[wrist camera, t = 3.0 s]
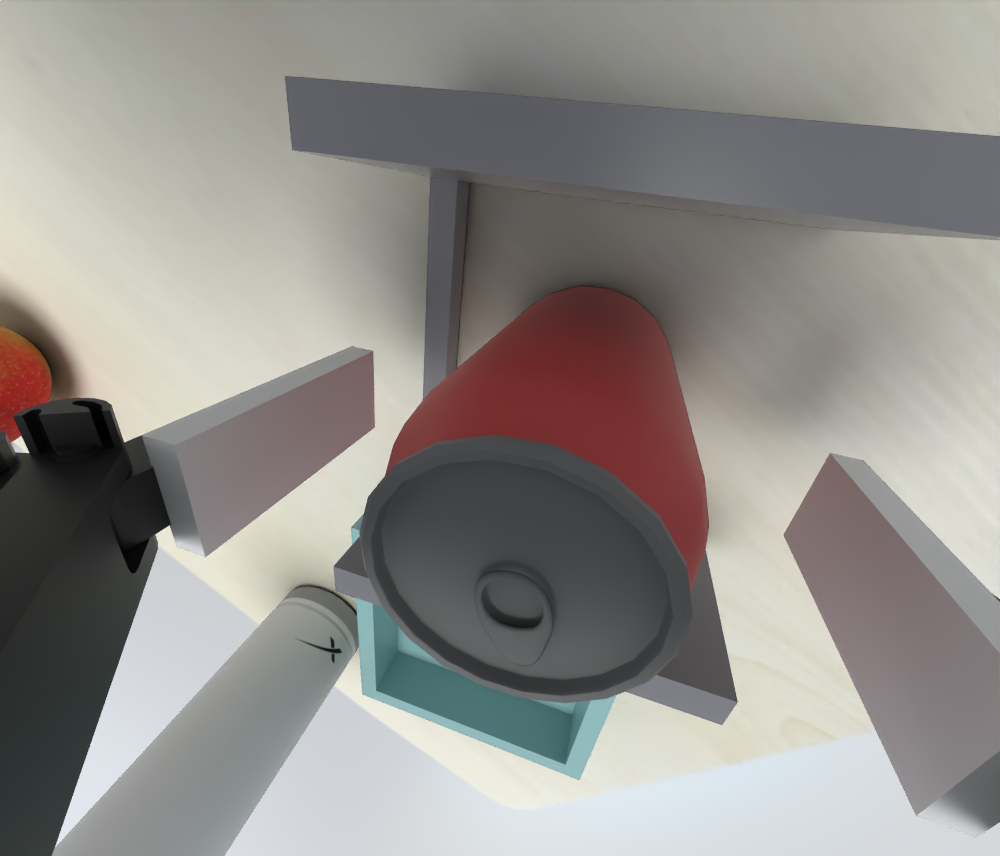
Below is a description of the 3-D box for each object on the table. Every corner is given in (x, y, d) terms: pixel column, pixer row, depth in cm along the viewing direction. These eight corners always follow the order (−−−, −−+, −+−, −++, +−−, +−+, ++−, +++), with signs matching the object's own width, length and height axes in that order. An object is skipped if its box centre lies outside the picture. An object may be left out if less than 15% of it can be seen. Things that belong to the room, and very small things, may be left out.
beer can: (514, 437, 20) (378, 684, 9) (498, 290, 17) (280, 406, 6) (666, 442, 18) (709, 761, 7) (676, 276, 15) (770, 411, 5)
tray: (387, 488, 23) (351, 527, 20) (646, 563, 20) (648, 620, 18) (389, 647, 30) (362, 694, 27) (585, 719, 27) (579, 780, 24)
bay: (445, 140, 15) (284, 75, 8) (852, 185, 12) (1118, 145, 6) (430, 473, 22) (335, 590, 15) (691, 544, 19) (721, 725, 12)
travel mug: (365, 600, 28) (-57, 1199, 11) (364, 658, 31) (36, 1193, 14) (285, 569, 29) (-216, 1072, 12) (292, 628, 32) (-96, 1094, 15)
